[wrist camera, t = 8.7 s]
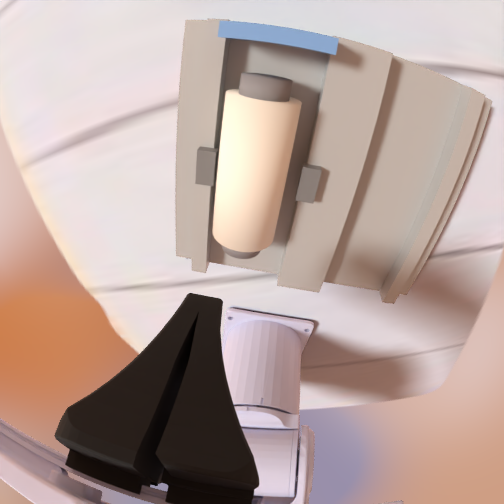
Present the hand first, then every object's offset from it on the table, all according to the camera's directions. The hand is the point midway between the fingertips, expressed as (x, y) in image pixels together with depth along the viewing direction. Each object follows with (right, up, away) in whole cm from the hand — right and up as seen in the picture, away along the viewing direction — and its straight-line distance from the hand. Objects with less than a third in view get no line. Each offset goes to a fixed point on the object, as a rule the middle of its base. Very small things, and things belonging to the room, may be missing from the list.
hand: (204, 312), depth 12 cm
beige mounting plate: (+6, +8, +6) cm, 12 cm away
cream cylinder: (+2, +8, +5) cm, 9 cm away
